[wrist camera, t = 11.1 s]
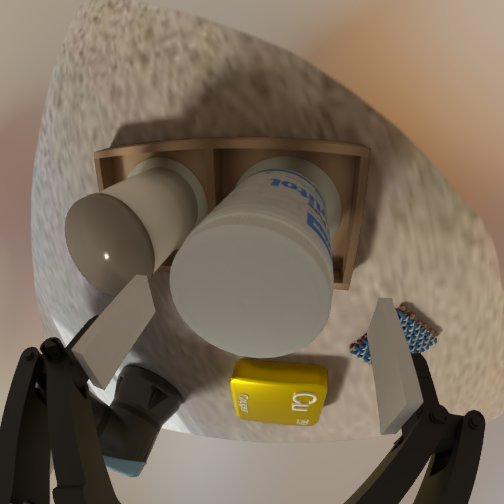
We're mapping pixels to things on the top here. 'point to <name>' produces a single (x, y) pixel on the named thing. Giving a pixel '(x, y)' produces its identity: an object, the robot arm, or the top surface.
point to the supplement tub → (258, 268)
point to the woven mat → (414, 334)
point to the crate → (247, 163)
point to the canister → (130, 227)
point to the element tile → (278, 392)
